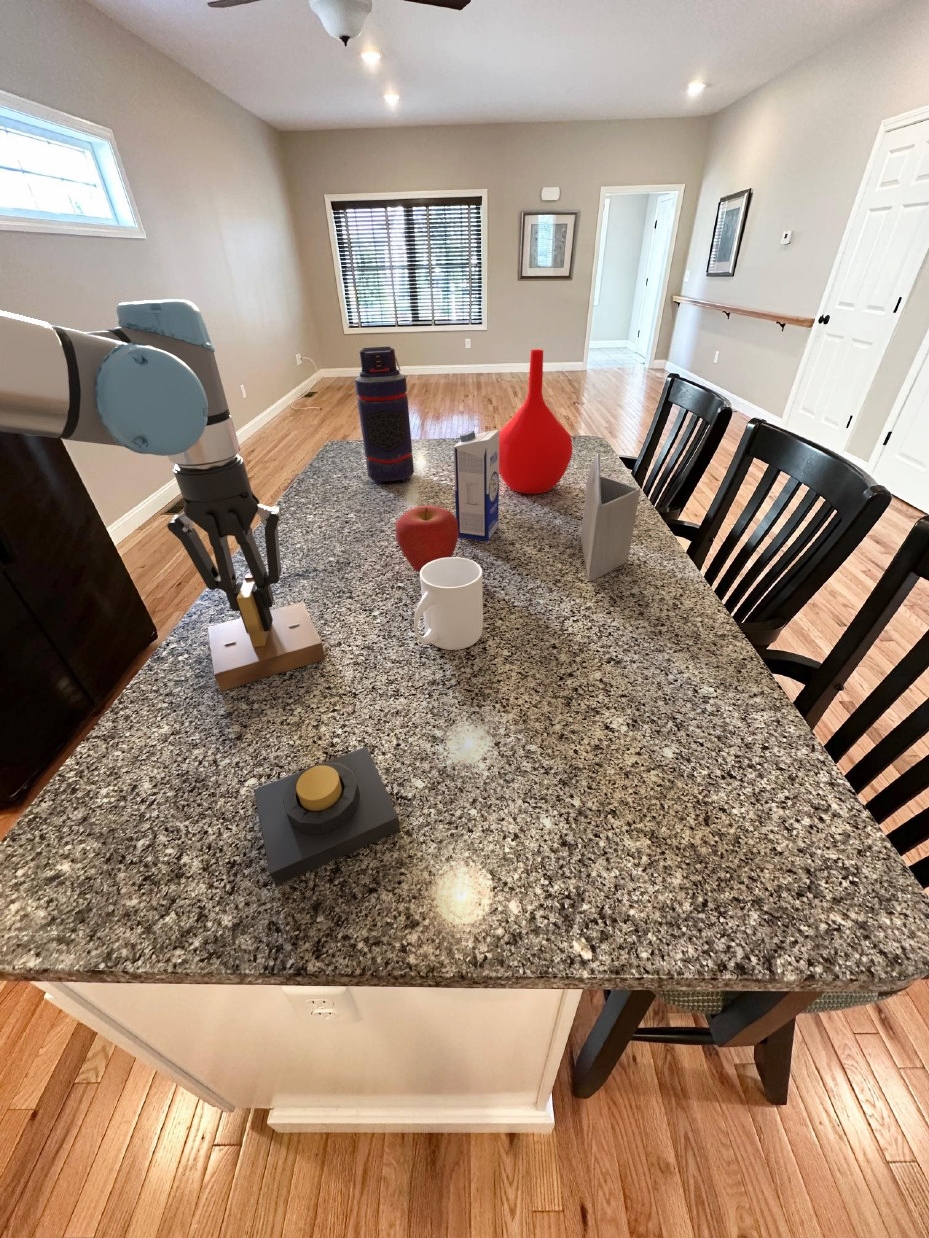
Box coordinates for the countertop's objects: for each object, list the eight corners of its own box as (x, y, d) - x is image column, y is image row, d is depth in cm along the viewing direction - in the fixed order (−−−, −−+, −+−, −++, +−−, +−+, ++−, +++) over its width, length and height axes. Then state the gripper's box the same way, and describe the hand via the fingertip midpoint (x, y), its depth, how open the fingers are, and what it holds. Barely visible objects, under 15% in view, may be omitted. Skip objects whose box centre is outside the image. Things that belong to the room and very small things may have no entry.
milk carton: (488, 541, 101) (487, 438, 90) (456, 537, 103) (452, 435, 92) (498, 527, 107) (499, 428, 95) (468, 523, 109) (465, 425, 97)
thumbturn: (264, 646, 70) (248, 595, 66) (252, 647, 70) (235, 597, 66) (271, 621, 75) (257, 572, 71) (260, 622, 75) (245, 573, 70)
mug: (396, 647, 74) (388, 584, 68) (452, 611, 82) (449, 551, 75) (439, 672, 70) (434, 606, 63) (494, 631, 77) (495, 569, 71)
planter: (635, 582, 87) (657, 470, 76) (588, 581, 88) (602, 470, 77) (621, 540, 100) (637, 439, 89) (580, 539, 101) (591, 439, 90)
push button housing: (275, 886, 46) (264, 862, 44) (259, 801, 54) (248, 777, 51) (400, 830, 50) (396, 805, 48) (369, 758, 58) (364, 734, 55)
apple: (400, 558, 97) (393, 497, 90) (457, 554, 97) (454, 493, 90) (400, 589, 88) (392, 524, 81) (462, 584, 88) (460, 519, 81)
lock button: (304, 818, 48) (300, 806, 47) (296, 786, 51) (292, 774, 50) (346, 801, 49) (343, 789, 48) (335, 770, 52) (332, 759, 51)
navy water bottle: (416, 483, 129) (405, 350, 112) (369, 488, 128) (350, 353, 111) (411, 466, 140) (400, 342, 123) (367, 470, 139) (350, 345, 122)
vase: (571, 476, 130) (583, 344, 113) (566, 503, 116) (579, 357, 99) (500, 472, 134) (501, 344, 117) (486, 498, 120) (485, 356, 103)
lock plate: (220, 691, 68) (213, 673, 66) (213, 643, 76) (206, 625, 75) (325, 659, 73) (321, 641, 71) (307, 617, 81) (303, 600, 80)
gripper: (278, 445, 62) (315, 606, 76) (150, 454, 61) (212, 617, 74) (268, 464, 56) (311, 636, 70) (126, 475, 55) (198, 649, 68)
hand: (260, 626), depth 72 cm, fingers closed on thumbturn, 2 cm apart
